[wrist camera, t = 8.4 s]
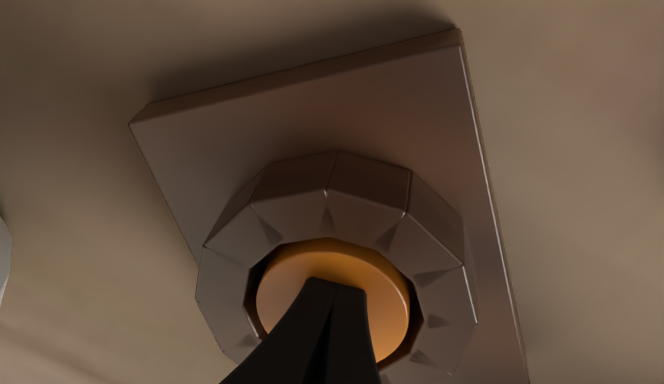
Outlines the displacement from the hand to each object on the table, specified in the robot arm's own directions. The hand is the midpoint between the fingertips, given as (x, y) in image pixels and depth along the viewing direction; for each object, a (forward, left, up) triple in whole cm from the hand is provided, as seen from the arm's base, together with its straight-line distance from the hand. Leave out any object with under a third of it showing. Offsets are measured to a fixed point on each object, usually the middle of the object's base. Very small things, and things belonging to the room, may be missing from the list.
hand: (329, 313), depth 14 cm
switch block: (0, 0, -3) cm, 3 cm away
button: (0, 0, -2) cm, 2 cm away
